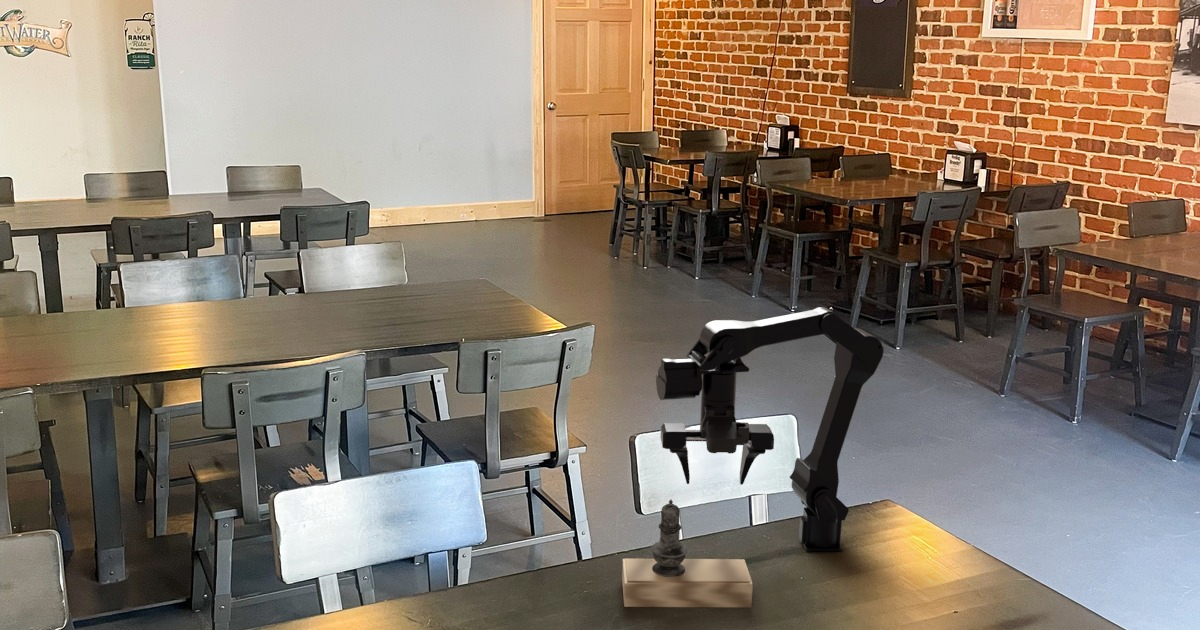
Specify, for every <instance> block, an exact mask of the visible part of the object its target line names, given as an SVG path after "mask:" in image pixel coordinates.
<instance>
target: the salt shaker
mask: <svg viewBox="0 0 1200 630" xmlns="http://www.w3.org/2000/svg"><path fill="white" fill-rule="evenodd" d="M658 528H659V531H660V534H659V535H660V536H659V541H657V542H655V543H653V544H652V545H651V546H650V550H651V553H652V556H653V559H655V561H656V562H657V563H656V564H654V565H653V567H652V570H653V572H654V573H656V574H657V575H660V576H664V577H676V576H680V575H682V574H683V573H684V572H685V567H684V566H683V565H682V564H681V563H682V562H683V560H684V559H686V554H687V553H688V550H689V549H688V547H687V546H686V544H684V543H681V542H680V531H681V530H682V525H681V524H680V508H679V506H678V505H676V504H674V501H673V499H671V498H670V499H669V501H668V503H666V504H665V505H663V506H662V507H661V517H660V523H659V524H658Z"/></svg>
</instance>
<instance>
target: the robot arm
mask: <svg viewBox="0 0 1200 630" xmlns="http://www.w3.org/2000/svg"><path fill="white" fill-rule="evenodd" d="M822 335H824V336H825V337H826V338H827V339H829V341H831V342H832V343H834V344H835V350H834V356H833V360H834V373H835V377H834V380H833V383H832V386H831V389H830V393H829V396H828V399H827V402H826V405H825V408H824V412H823V415H822V418H821V421H820V423H819V424H820V425H819V427H818V430H817V433H816V437H815V438H814V439H815V440H814V443H813V446H812V449H811V451H810V453H809V454H808V455H807V456H806V457H805V458H804V459H803V458H800V457H797V458H796V460H795V462H794V468H793V471H792V473H791V474H790V476H789V478H790V480H791V489H792V491H793V493H794V494H795V495H796V496H797V497H798V498H799V500H800V502H801V504H802V505H804V506H805V507H803V512H802V513H803V514H802V515H801V516H800V517H799V529H798V530H799V531H798V539H799V540H800V542H801V544H802V545H803V547H804V549H805V550H806V551H807V552H842V551H843V549H844V548H843V546H842V544H841V539H842V538H841V537H842V536H841V535H842V525H843V524H842V523H843V521H845V520H846V519H847V516H848V513H849V510H850V509H849V508H848V506H846V505H845V504H844V503H843V501H841V499H840V498H838V497H837V496H838V495H837V494H838V490H839V483H840V479H839V467H838V466H839V465H838V464H839V463H838V462H839V459H840V455H841V452H842V450H843V447H844V444H845V440H846V437H847V434H848V431H849V428H850V425H851V422H852V419H853V416H854V413H855V409H856V407H857V404H858V400H859V397H860V395H861V392H862V388H863V386H864V385H865V384H866V383H868V381H869V380H870V379H871V378H872V376H874V374H875V373H876V371H877V369H878V367H879V365H880V363H881V361H882V359H883V357H884V354H885V353H884V352H885V349H884V346H883V345H882V341H880V339H878V337H875V336H874V335H872V334H870V333H868V332H866V331H865V330H863V329H861V328H858V327H854V326H852V325H850V324H849V323H847V322H845V320H843V319H842V318H840V317H839V315H838V314H837V313H836V312H834V311H833V310H830V309H829V308H827V307H824V306H820V307H819V306H818V307H816V308H814V309H809V310H805V311H801V312H794V313H790V314H786V315H780V316H779V315H778V316H774V317H769V318H764V319H758V320H753V321H751V320H750V321H743V320H735V319H727V320H726V319H723V320H722V319H721V320H719V319H718V320H717V319H716V320H712V321H709V322H707V323H706V324H705V325H704V327H703V328H702V329H701V332H700V335H699V339H697V341H696V342H695V344H694V345H693V346H692V348H691V349H690V350H689V352H688V353H687V354H686V358H677V359H673V358H662V359H660V366H659V367H658V371H657V374H656V376H655V384H656V386H655V387H656V391H657V392H656V393H657V395H658V398H659V400H660V401H671V400H672V401H673V400H674V401H675V400H690V399H691V400H694V399H695V398H696V397H698V396H700V397H701V398H700V419H699V420H700V422H699V424H700V425H699V429H686V426H685V423H684V422H683V423H682V422H681V423H679V422H664V423H662V425H661V426H660V443H661V447H662V448H663V449H665V450H669V452H670V453H671V454H676V456H677V457H678V459H679V462H680V465H681V468H682V470H683V475H684V478H685V481H686V484H687V485H689V484H690V479H691V478H690V466H689V455H688V454H689V452H688V451H689V450H688V447H687V442H705V443H706V450H707V451H708V453H711V454H717V453H727V454H735V453H736V452H737V446H742V451H741V460H740V468H739V484H740V486H741V485H743V484H745V481H746V477H747V476H748V473H749V472H750V469H751V466H752V464H753V463H754V462H755V459H756V458H757V457H758V456H760V455H764V454H766V452H767V451H772V450H773V449H775V436H774V433H773V432H772V429H771V427H770V426H769V425H768V424H767V423H749V422H740V421H737V420H736V416H735V415H736V414H735V413H736V395H737V393H736V392H737V391H736V390H737V374H738V373H747V372H749V371H750V368H749V366H747V365H746V364H745V363H744V362H743V360H742V358H744V357H746V356H748V355H749V354H751V353H753V351H755V350H757V349H759V348H763V347H765V346H771V345H776V344H781V343H787V342H792V341H796V340H801V339H807V338H812V337H817V336H822ZM707 354H708V355H707ZM706 355H707V356H706ZM700 393H701V395H700Z"/></svg>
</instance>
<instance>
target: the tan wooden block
mask: <svg viewBox="0 0 1200 630" xmlns="http://www.w3.org/2000/svg"><path fill="white" fill-rule="evenodd" d="M656 563H657V562H656V561H655V559H654V558H622V571H621V573H622V575H621V576H622V577H621V580H622V581H621V582H622V593H623V594H622V595H623V605H624V606H623V607H626V608H627V607H628V608H629V607H631V608H632V607H633V608H642V607H643V608H752V600H753V599H752V598H753V580H752V578H751V574H750V572H749V569H748V566H747V563H746V560H745V559H744V558H742V559H741V558H740V559H739V558H736V559H735V558H734V559H733V558H684V560H683V562H682V563H681V564H682V565H683V566H684V567H685V572H684V573H683V574H682V575H680V576H676V577H664V576H660V575H657V574H656V573H654V572H653V570H652V567H653V565H654V564H656Z"/></svg>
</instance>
